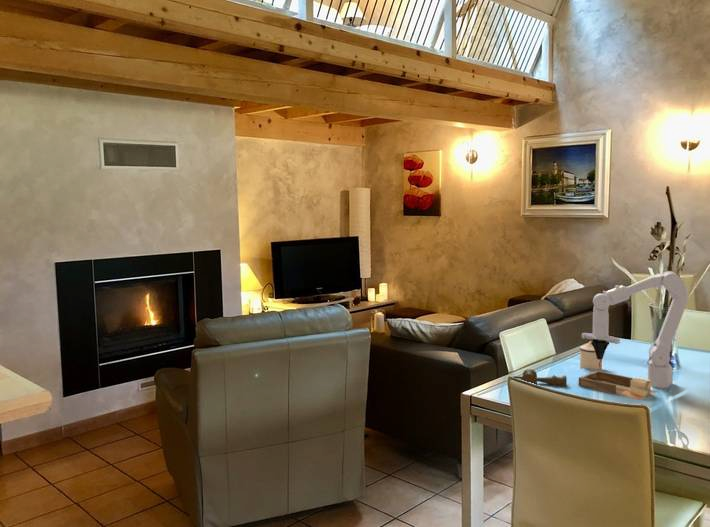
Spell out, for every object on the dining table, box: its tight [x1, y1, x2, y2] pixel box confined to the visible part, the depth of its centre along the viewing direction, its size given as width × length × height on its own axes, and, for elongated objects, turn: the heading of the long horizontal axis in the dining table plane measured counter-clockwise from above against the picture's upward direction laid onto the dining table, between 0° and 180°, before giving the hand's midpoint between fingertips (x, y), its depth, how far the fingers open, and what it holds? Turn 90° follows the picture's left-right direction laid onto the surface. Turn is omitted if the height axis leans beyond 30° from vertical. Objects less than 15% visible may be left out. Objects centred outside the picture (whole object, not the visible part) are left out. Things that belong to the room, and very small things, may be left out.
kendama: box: [512, 368, 568, 388], centre depth 227 cm, size 6×10×20 cm
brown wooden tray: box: [578, 370, 658, 401], centre depth 219 cm, size 14×23×4 cm, turn 40°
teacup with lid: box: [579, 340, 603, 370], centre depth 250 cm, size 12×9×12 cm
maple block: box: [630, 377, 652, 398], centre depth 212 cm, size 5×5×5 cm
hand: (599, 359), depth 229 cm, fingers closed
